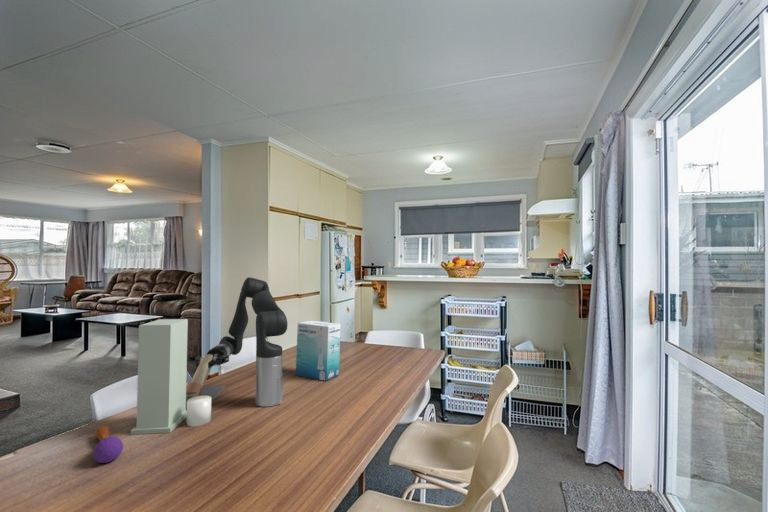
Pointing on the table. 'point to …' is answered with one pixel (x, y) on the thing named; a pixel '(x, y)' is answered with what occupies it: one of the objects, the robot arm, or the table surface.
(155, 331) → the stand
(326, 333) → the toothbrush box
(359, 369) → the table surface
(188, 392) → the catapult arm
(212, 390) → the mat
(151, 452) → the table surface
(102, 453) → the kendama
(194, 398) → the white short cylinder
